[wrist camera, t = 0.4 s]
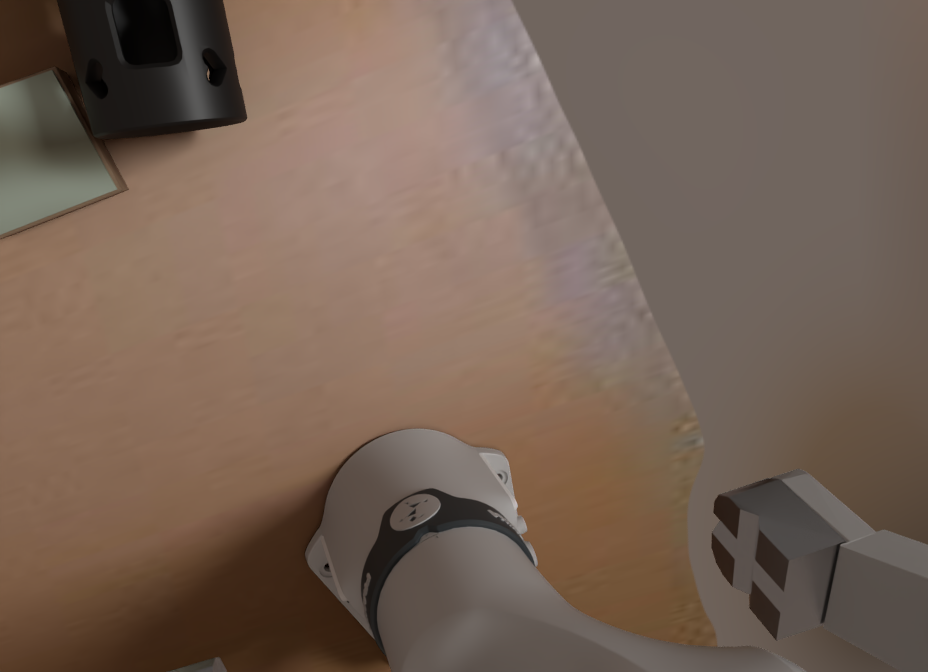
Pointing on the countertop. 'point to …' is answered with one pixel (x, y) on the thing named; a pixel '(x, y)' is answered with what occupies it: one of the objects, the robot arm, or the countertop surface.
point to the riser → (49, 153)
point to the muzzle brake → (153, 65)
